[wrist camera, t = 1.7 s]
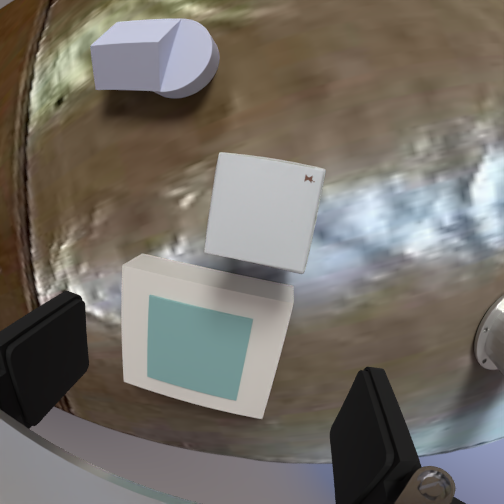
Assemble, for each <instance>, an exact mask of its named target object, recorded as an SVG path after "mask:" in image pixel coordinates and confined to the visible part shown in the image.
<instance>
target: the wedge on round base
mask: <svg viewBox="0 0 504 504" xmlns="http://www.w3.org/2000/svg"><path fill="white" fill-rule="evenodd" d="M90 47H91V56H92V65H93V72H94V80H95V86H96V90H141V91H153V92H155V93H157V94H159V95H161V96H163V97H167V98H183V97H187V96H190V95H193V94H195V93H197V92H198V91H200V90H201V89H203V88H204V87H205V86H206V85H207V84H208V83H209V82H210V81H211V79H212V78H213V77H214V75H215V73H216V71H217V68H218V65H219V51H218V48H217V45H216V44H215V42H214V40H213V39H212V37H211V36H210V34H209V32H208V31H207V29H206V28H205V27H204V26H202V25H201V24H200V23H198V22H196V21H193V20H189V19H151V20H135V21H124V22H117V23H115V24H114V25H113V26H112V27H111V28H110V29H108V30H107V31H106V32H105V33H104V34H103V35H102V36H101V37H100V38H98V39H97V40H96V41H95V42H94V43H93V44H92V45H91V46H90Z"/></svg>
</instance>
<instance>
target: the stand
mask: <svg viewBox="0 0 504 504" xmlns="http://www.w3.org/2000/svg"><path fill="white" fill-rule="evenodd" d="M293 304H294V300H293V286H292V285H287V284H282V283H277V282H272V281H267V280H263V279H258V278H253V277H248V276H243V275H238V274H234V273H229V272H224V271H220V270H215V269H210V268H206V267H201V266H196V265H192V264H187V263H183V262H178V261H174V260H169V259H165V258H160V257H156V256H152V255H147V254H141V255H139V256H137V257H136V258H134V259H132V260H130V261H129V262H127V263H125V264H123V268H122V355H123V374H124V382H127V383H130V384H132V385H135V386H138V387H141V388H144V389H147V390H150V391H153V392H156V393H159V394H162V395H166V396H169V397H172V398H176V399H179V400H183V401H186V402H190V403H193V404H197V405H201V406H205V407H209V408H213V409H217V410H221V411H225V412H230V413H234V414H239V415H244V416H248V417H253V418H259V419H262V418H263V414H264V411H265V407H266V404H267V401H268V397H269V394H270V390H271V387H272V383H273V380H274V376H275V372H276V369H277V365H278V361H279V358H280V354H281V350H282V347H283V343H284V339H285V335H286V331H287V327H288V324H289V320H290V316H291V312H292V308H293Z"/></svg>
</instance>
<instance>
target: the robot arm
mask: <svg viewBox="0 0 504 504" xmlns="http://www.w3.org/2000/svg"><path fill="white" fill-rule="evenodd" d="M474 352H475V357H476V359H477V361H478V362H479V364H480V365H481V366H482V367H484V368H485V369H488V370H496V369H499V370H500V372H501V373H502V374H503V375H504V295H502V296H501V297H500V298H499V299H498V300H496V302H495V303H494V304H493V305H492V306H491V307H490V308H489V310H488V311H487V313H486V314H485V316H484V317H483V319H482V321H481V323H480V325H479V328H478V330H477V333H476V337H475V342H474ZM88 366H89V358H88V347H87V333H86V314H85V303H84V301H82V298H81V296H80V295H77V294H74V293H72V292H69V291H65V292H63V293H61V294H59V295H58V296H56V297H54V298H53V299H51V300H50V301H48V302H46V303H45V304H43V305H41V306H40V307H38V308H36V309H35V310H33V311H32V312H30V313H28V314H27V315H25V316H24V317H22V318H21V319H19V320H17V321H16V322H14V323H13V324H11V325H10V326H8V327H6V328H5V329H3V330H2V331H0V504H201V503H197V502H193V501H189V500H186V499H182V498H179V497H176V496H172V495H169V494H166V493H163V492H160V491H157V490H154V489H151V488H148V487H145V486H143V485H140V484H137V483H134V482H132V481H129V480H127V479H124V478H122V477H120V476H117V475H115V474H112V473H110V472H108V471H106V470H103V469H101V468H99V467H97V466H95V465H93V464H91V463H89V462H86V461H85V460H82V459H80V458H79V457H76V456H75V455H73V454H71V453H69V452H67V451H65V450H63V449H62V448H60V447H58V446H56V445H54V444H53V443H51V442H49V441H48V440H46V439H44V438H42V437H41V436H39V435H38V434H36V433H34V432H33V431H31V430H30V429H29V428H30V427H31V426H35V425H37V424H38V423H39V422H40V421H41V420H42V419H43V417H44V416H45V415H46V414H47V413H48V412H49V411H50V410H51V409H52V408H53V407H54V406H55V404H56V403H57V402H58V401H59V400H60V399H61V398H62V397H63V396H64V395H65V394H66V393H67V391H68V390H69V389H70V388H71V387H72V386H73V385H74V384H75V383H76V382H77V381H78V380H79V379H80V378H81V377H82V376H83V374H84V373H85V372H86V371H87V369H88ZM330 443H331V453H332V464H333V474H334V487H335V500H336V504H466V503H464V502H462V501H460V500H458V499H457V498H455V497H454V494H455V483H454V481H453V479H452V477H451V476H450V475H449V474H448V473H447V472H446V471H444V470H443V469H441V468H438V467H434V466H426V467H421V464H420V461H419V458H418V455H417V452H416V449H415V447H414V444H413V441H412V439H411V436H410V433H409V430H408V428H407V425H406V423H405V420H404V417H403V415H402V412H401V410H400V407H399V405H398V402H397V400H396V397H395V395H394V392H393V390H392V387H391V385H390V383H389V380H388V378H387V375H386V373H385V371H384V369H381V368H374V367H366V368H365V369H364V371H363V370H360V371H359V372H358V374H357V376H356V378H355V380H354V382H353V385H352V387H351V389H350V391H349V393H348V395H347V397H346V399H345V401H344V403H343V405H342V408H341V410H340V412H339V413H338V415H337V417H336V419H335V421H334V423H333V425H332V427H331V430H330Z"/></svg>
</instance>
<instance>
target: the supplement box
mask: <svg viewBox="0 0 504 504" xmlns="http://www.w3.org/2000/svg"><path fill="white" fill-rule="evenodd" d="M325 173H326V170H325V169H323V168H318V167H314V166H309V165H305V164H300V163H295V162H290V161H284V160H278V159H272V158H266V157H259V156H251V155H242V154H233V153H223V152H220V153H219V156H218V161H217V166H216V172H215V178H214V185H213V191H212V197H211V204H210V211H209V218H208V225H207V232H206V240H205V249H204V252H205V253H208V254H213V255H218V256H223V257H228V258H233V259H237V260H242V261H246V262H250V263H255V264H259V265H264V266H268V267H273V268H277V269H281V270H286V271H290V272H295V273H299V274H303V273H304V272H305V269H306V264H307V260H308V255H309V251H310V246H311V242H312V237H313V232H314V228H315V224H316V219H317V213H318V208H319V203H320V198H321V193H322V188H323V183H324V178H325Z"/></svg>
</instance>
